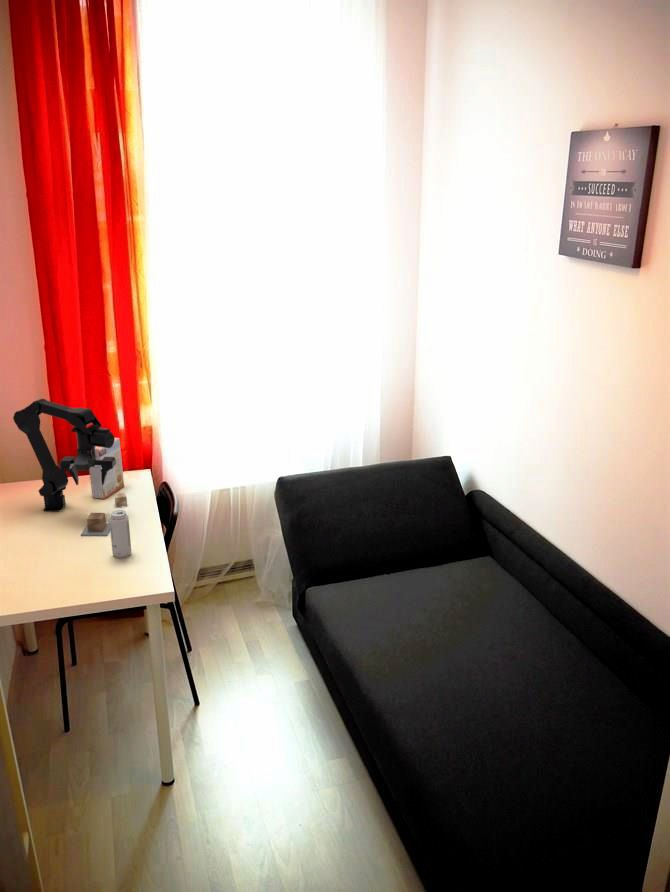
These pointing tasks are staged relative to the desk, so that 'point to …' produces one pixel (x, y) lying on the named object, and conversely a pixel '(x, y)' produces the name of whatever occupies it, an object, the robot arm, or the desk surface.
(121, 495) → the oak block
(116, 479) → the cracker box
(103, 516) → the walnut cube
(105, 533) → the slate coaster
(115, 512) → the energy drink can
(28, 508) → the desk surface
